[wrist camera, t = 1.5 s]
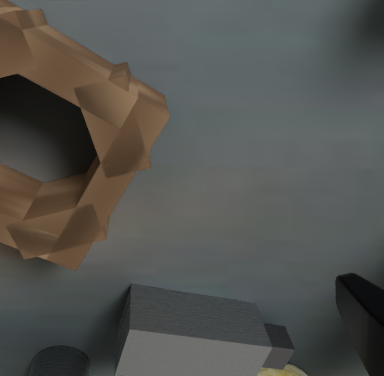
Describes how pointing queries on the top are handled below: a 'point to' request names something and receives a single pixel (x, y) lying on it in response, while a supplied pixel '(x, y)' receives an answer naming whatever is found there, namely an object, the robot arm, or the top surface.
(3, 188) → the socket block
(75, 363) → the grey cylindrical bottle
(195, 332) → the grey rectangular block
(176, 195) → the top surface
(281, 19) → the top surface
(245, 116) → the top surface
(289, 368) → the bread roll
